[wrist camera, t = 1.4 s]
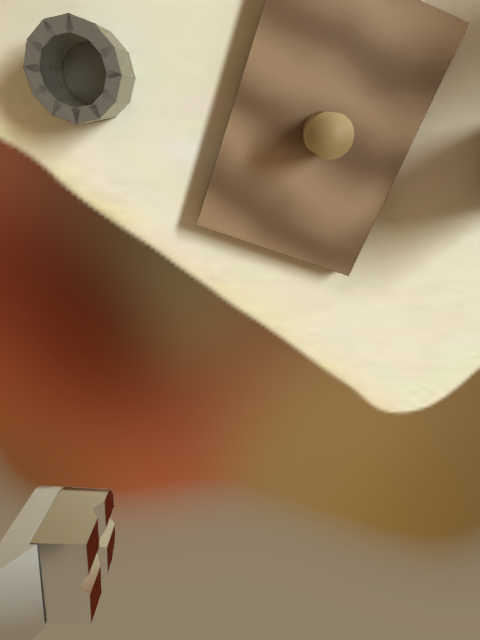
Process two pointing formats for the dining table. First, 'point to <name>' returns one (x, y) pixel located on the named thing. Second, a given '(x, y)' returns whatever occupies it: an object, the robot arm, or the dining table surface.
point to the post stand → (326, 122)
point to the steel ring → (47, 67)
